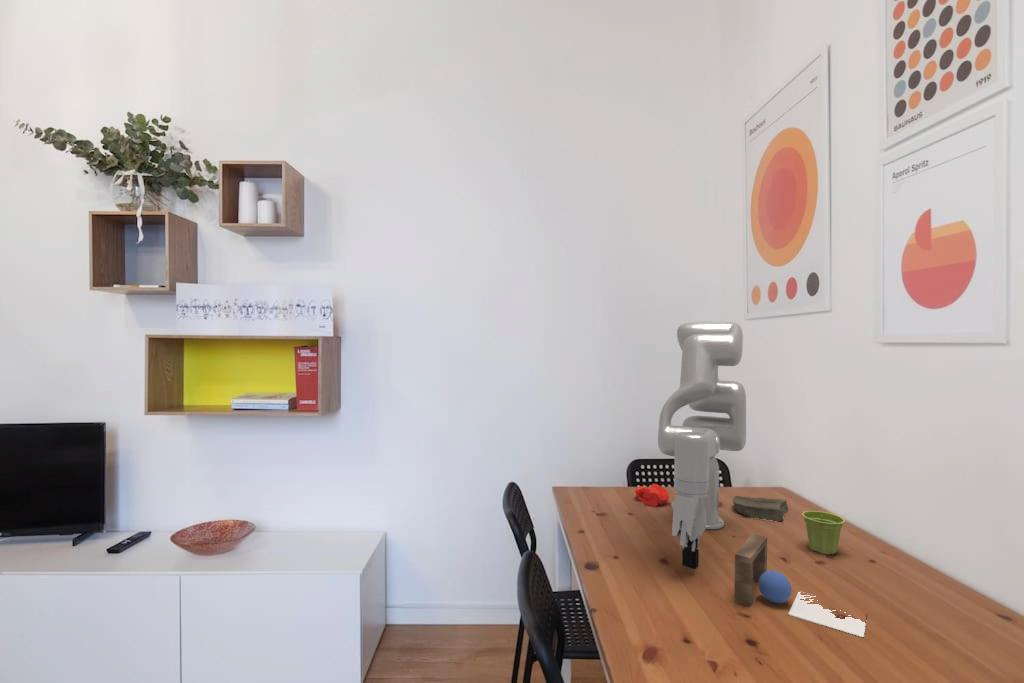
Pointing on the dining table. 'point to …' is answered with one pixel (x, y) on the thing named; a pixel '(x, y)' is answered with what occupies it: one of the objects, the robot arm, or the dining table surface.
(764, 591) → the ball
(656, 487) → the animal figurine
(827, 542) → the plant pot
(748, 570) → the bridge
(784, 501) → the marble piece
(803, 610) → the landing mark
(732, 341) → the robot arm
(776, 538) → the dining table surface
